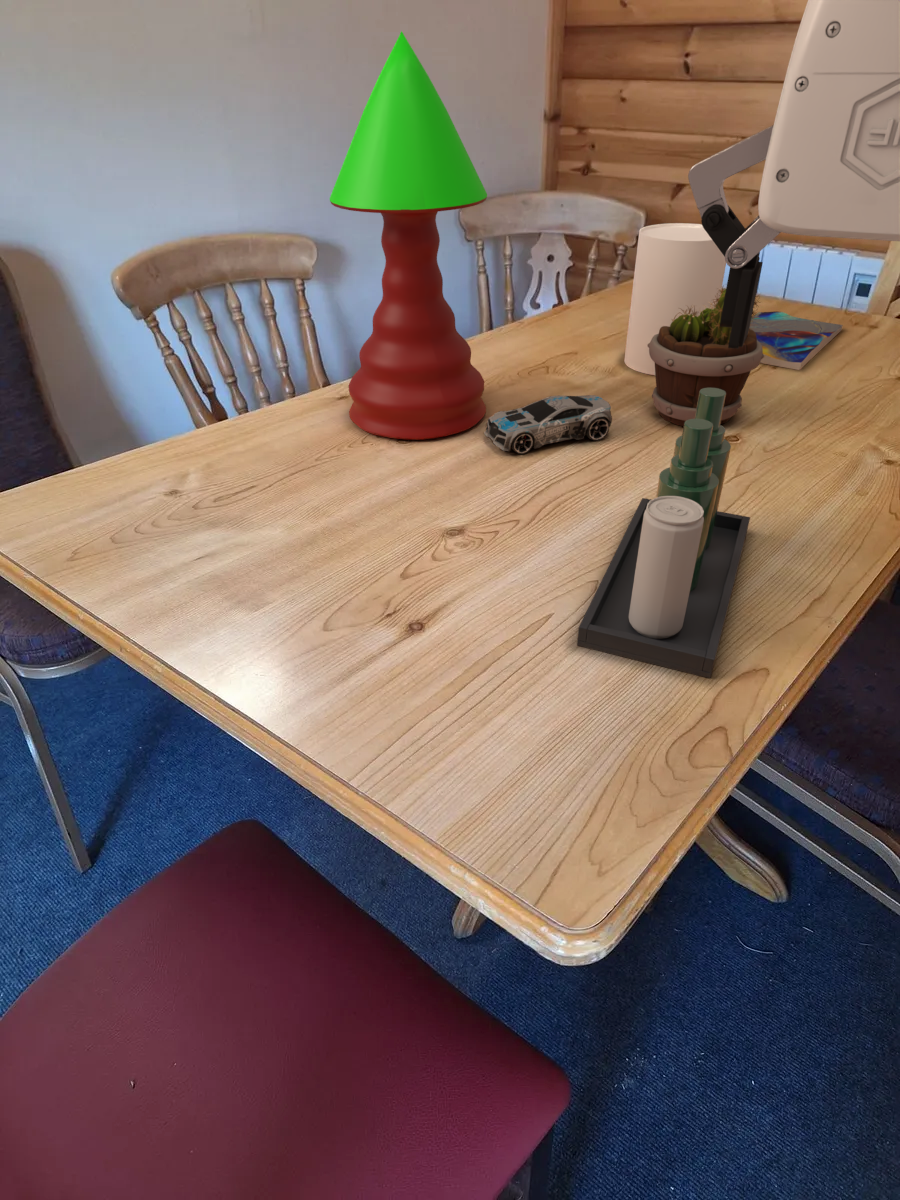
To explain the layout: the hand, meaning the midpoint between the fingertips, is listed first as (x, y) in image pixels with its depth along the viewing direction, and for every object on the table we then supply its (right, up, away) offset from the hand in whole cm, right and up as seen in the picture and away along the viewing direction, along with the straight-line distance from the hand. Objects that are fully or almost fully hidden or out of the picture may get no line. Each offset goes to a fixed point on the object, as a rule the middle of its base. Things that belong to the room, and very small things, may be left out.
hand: (832, 351), depth 41 cm
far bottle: (+5, -7, +42) cm, 42 cm away
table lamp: (-25, +14, +72) cm, 78 cm away
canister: (+16, +26, +88) cm, 94 cm away
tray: (+2, -12, +36) cm, 38 cm away
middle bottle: (+2, -11, +36) cm, 37 cm away
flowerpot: (+15, +13, +70) cm, 73 cm away
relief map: (+38, +32, +96) cm, 108 cm away
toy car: (-7, +9, +65) cm, 66 cm away
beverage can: (-2, -16, +30) cm, 34 cm away
